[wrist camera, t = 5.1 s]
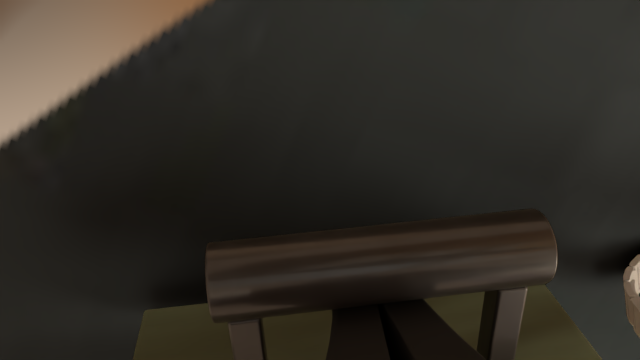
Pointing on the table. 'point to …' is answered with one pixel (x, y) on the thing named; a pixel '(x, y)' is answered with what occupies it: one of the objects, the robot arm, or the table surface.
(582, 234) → the table surface
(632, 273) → the wristwatch
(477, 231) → the drawer
